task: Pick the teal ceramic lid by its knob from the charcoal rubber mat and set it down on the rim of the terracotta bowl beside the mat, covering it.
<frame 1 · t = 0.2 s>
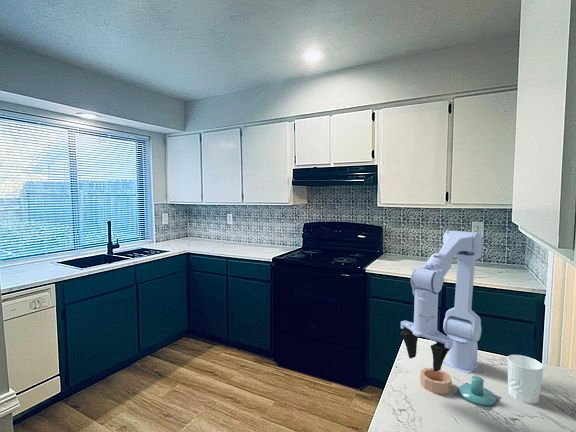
hand: (424, 363, 86), 10 cm above the countertop, fingers open, 7 cm apart
mat: (476, 397, 88), on the countertop
lid: (476, 395, 88), resting on mat
white cup: (523, 397, 88), on the countertop
bowl: (435, 386, 93), on the countertop
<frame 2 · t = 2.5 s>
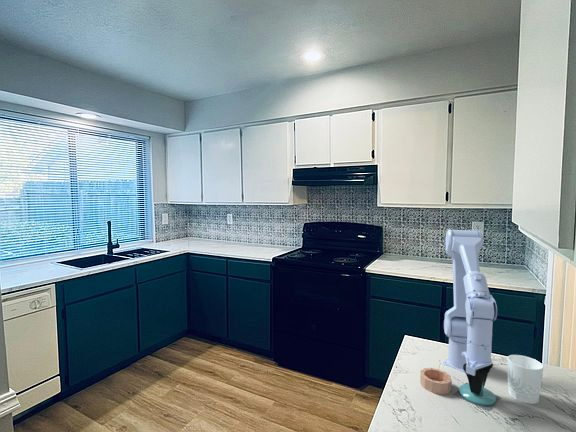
hand: (477, 390, 88), 2 cm above the countertop, fingers closed on lid, 3 cm apart
lid: (476, 395, 88), resting on mat, touching gripper
everything else where it was.
when the fingers open (6 cm above the countertop, at t = 4.9 s): lid stays where it is, resting on bowl.
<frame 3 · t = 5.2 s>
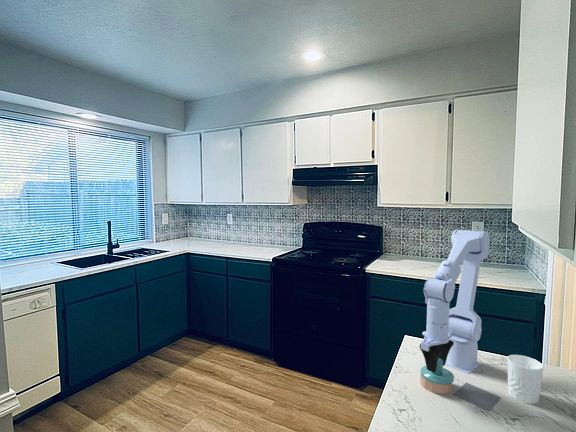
hand: (436, 367, 92), 6 cm above the countertop, fingers open, 5 cm apart
lid: (436, 375, 92), point 3 cm above the countertop, touching bowl
everything else where it was.
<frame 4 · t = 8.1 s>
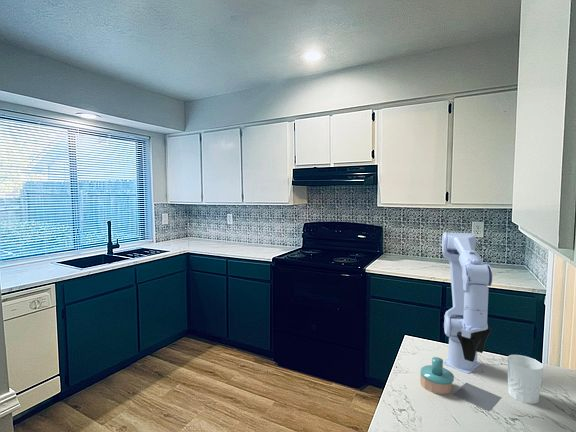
hand: (473, 355, 90), 10 cm above the countertop, fingers open, 7 cm apart
nothing on the countertop moved.
at the end: lid 0.3 cm off-centre on the bowl, point 3.4 cm above the bowl's base; lid tilted 0°; the gripper is holding nothing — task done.
